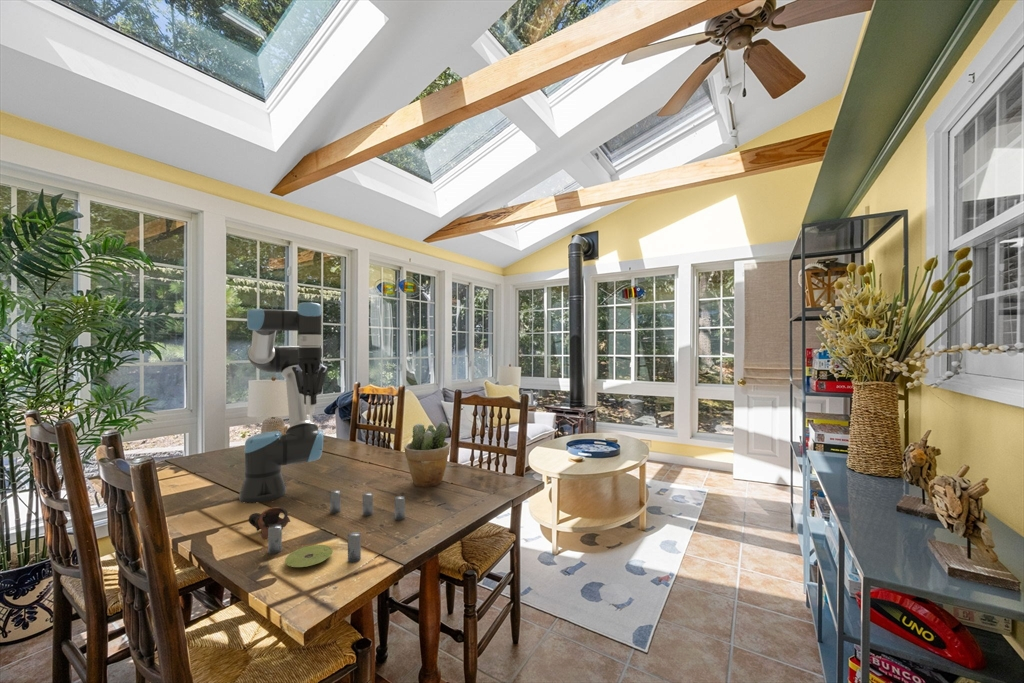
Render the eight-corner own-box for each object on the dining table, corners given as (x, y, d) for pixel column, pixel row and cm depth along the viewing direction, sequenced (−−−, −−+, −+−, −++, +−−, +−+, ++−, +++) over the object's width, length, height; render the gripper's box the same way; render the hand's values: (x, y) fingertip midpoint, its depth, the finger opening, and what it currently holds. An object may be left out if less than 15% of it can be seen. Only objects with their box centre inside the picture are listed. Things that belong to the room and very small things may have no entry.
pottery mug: (295, 523, 132) (295, 505, 128) (280, 550, 123) (281, 531, 120) (255, 517, 130) (255, 499, 127) (238, 544, 122) (237, 525, 118)
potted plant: (404, 493, 158) (404, 427, 158) (404, 477, 176) (403, 418, 176) (452, 488, 163) (452, 424, 163) (447, 473, 181) (447, 416, 181)
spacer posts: (265, 555, 112) (265, 529, 112) (334, 510, 142) (334, 489, 142) (356, 565, 107) (356, 538, 107) (408, 516, 137) (407, 495, 137)
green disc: (330, 547, 116) (330, 540, 116) (334, 567, 106) (334, 559, 106) (285, 558, 111) (285, 550, 111) (284, 579, 101) (284, 571, 101)
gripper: (286, 347, 143) (286, 415, 144) (319, 347, 141) (319, 416, 141) (301, 346, 151) (301, 411, 151) (333, 346, 148) (333, 412, 148)
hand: (310, 413), depth 146 cm, fingers closed
